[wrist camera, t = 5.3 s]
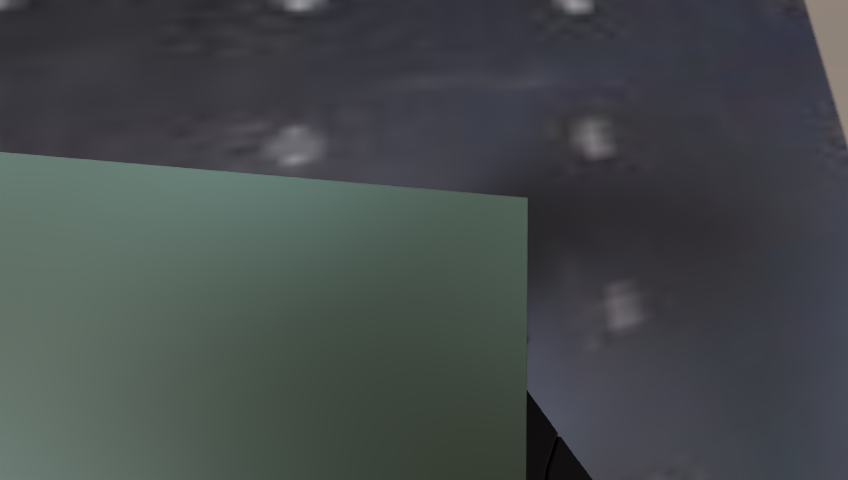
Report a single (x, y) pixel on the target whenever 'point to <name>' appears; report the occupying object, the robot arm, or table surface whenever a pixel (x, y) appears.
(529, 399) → the robot arm
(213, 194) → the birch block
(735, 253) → the table surface
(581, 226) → the table surface
